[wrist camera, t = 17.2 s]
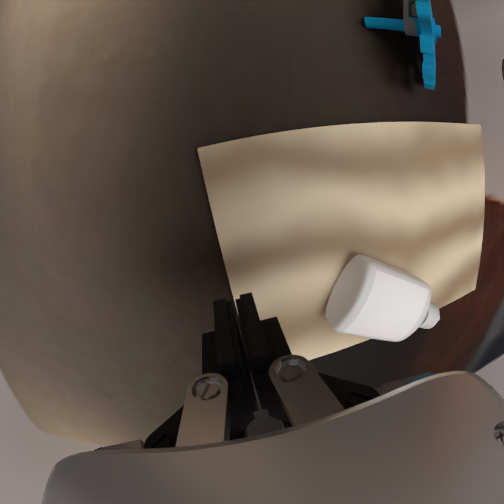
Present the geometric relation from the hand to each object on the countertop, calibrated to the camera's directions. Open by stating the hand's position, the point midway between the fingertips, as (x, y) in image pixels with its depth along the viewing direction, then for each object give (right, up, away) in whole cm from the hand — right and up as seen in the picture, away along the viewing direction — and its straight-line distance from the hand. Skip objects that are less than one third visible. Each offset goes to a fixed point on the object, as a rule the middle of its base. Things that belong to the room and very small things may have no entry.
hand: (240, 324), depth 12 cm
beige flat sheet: (+12, +4, +9) cm, 15 cm away
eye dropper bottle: (+7, 0, +7) cm, 9 cm away
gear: (+13, +21, +3) cm, 25 cm away
